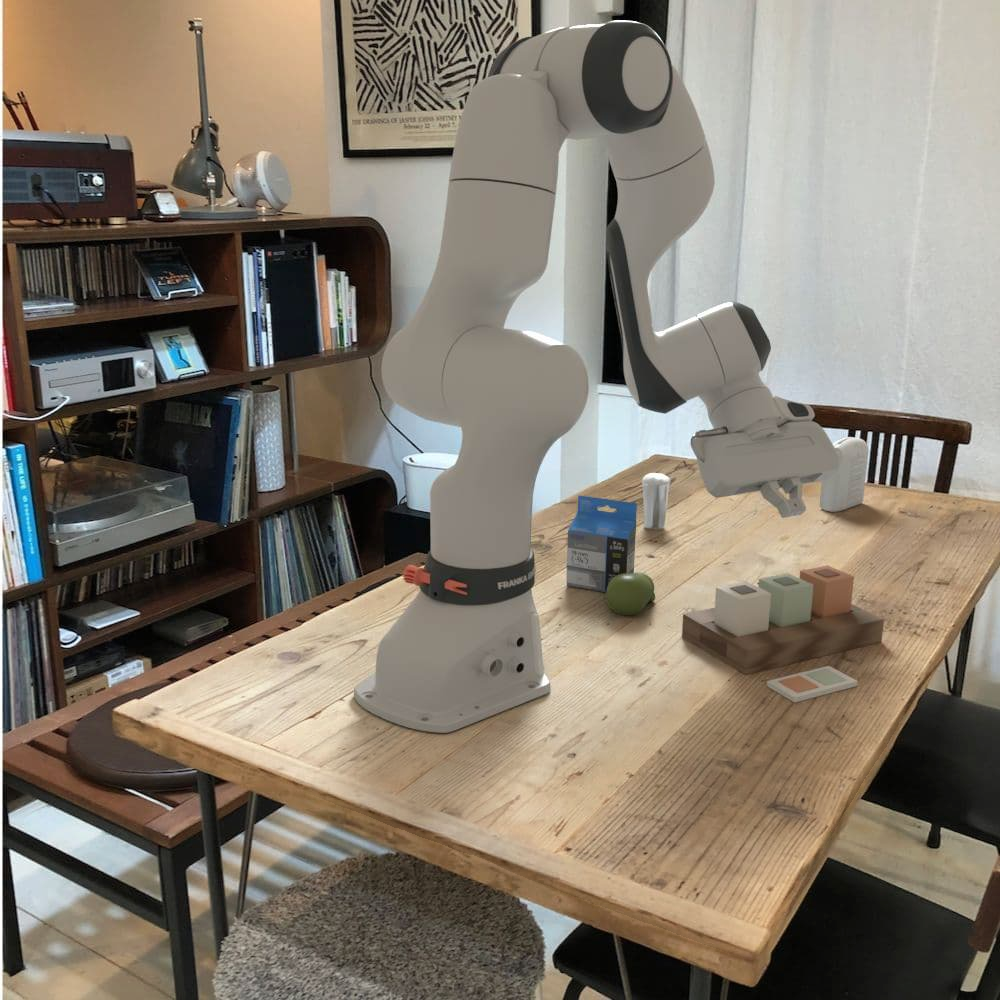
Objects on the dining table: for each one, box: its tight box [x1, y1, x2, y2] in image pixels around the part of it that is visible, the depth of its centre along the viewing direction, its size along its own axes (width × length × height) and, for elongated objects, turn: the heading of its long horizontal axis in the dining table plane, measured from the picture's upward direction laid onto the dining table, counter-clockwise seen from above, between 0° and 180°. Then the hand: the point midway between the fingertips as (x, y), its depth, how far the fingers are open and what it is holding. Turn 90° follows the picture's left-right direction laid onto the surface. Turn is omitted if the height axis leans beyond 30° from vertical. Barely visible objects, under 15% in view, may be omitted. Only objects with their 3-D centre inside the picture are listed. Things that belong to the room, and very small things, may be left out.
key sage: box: [757, 572, 813, 627], centre depth 125 cm, size 4×4×5 cm
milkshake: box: [641, 471, 675, 531], centre depth 168 cm, size 5×5×10 cm
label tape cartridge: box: [566, 495, 638, 593], centre depth 141 cm, size 9×4×12 cm, turn 65°
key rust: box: [799, 565, 855, 618], centre depth 127 cm, size 4×4×5 cm
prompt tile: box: [766, 665, 858, 703], centre depth 114 cm, size 9×4×1 cm, turn 116°
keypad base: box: [681, 603, 885, 676], centre depth 126 cm, size 21×12×3 cm, turn 116°
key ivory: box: [714, 581, 771, 637], centre depth 122 cm, size 4×4×5 cm
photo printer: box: [819, 436, 869, 513], centre depth 181 cm, size 10×4×12 cm, turn 134°
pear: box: [605, 572, 656, 616], centre depth 136 cm, size 6×5×10 cm
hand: (794, 514), depth 131 cm, fingers closed
